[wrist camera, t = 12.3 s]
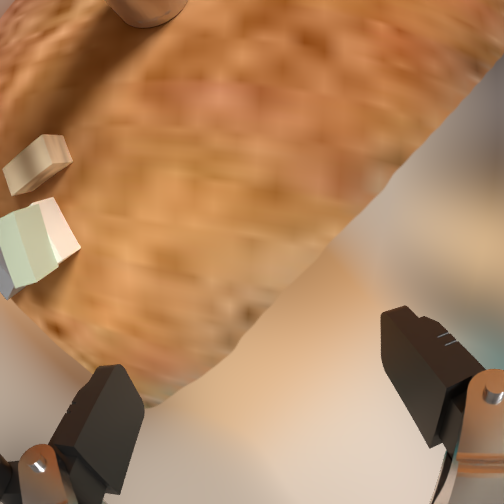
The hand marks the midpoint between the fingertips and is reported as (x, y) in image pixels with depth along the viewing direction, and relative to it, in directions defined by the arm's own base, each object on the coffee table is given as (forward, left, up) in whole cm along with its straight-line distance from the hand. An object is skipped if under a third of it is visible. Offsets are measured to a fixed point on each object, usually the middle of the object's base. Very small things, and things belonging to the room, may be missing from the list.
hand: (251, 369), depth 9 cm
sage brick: (-4, -25, -23) cm, 34 cm away
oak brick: (-13, -24, -28) cm, 39 cm away
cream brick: (-4, -25, -28) cm, 38 cm away
